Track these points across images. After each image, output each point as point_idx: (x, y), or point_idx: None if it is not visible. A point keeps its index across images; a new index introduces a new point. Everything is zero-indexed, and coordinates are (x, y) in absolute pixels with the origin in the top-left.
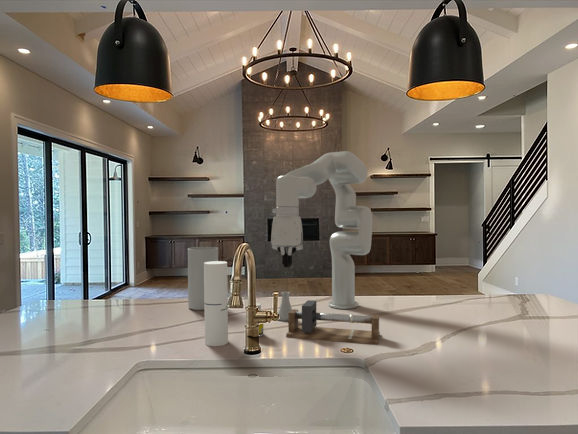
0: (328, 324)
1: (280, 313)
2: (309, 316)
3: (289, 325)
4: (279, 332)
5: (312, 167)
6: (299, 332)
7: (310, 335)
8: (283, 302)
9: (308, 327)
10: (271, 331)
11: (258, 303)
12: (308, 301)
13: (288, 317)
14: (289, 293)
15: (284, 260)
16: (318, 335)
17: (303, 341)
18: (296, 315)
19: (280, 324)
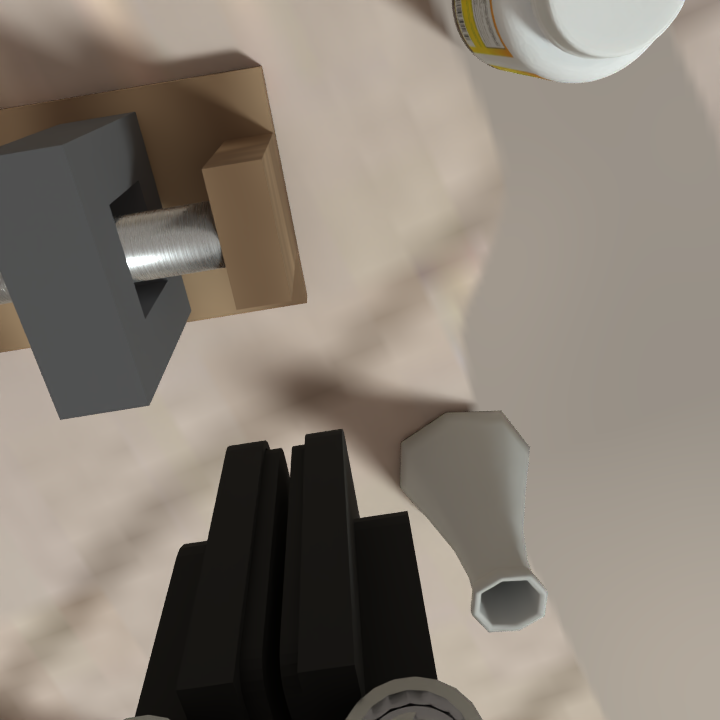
0: (134, 462)
1: (494, 448)
2: (18, 141)
3: (260, 141)
4: (364, 152)
5: None
6: (181, 145)
7: (61, 104)
8: (496, 521)
9: (66, 126)
10: (433, 150)
11: (593, 47)
12: (112, 360)
13: (263, 150)
14: (471, 607)
15: (320, 535)
16: (6, 133)
17: (80, 8)
18: (203, 202)
19: (442, 336)
